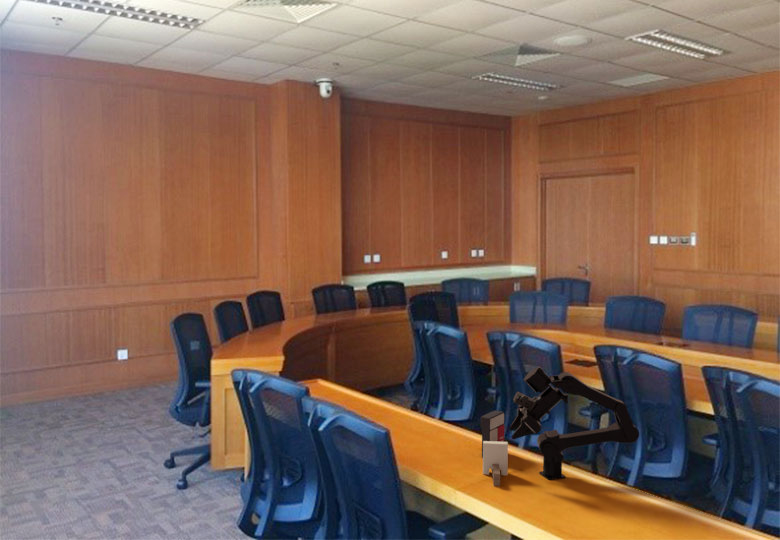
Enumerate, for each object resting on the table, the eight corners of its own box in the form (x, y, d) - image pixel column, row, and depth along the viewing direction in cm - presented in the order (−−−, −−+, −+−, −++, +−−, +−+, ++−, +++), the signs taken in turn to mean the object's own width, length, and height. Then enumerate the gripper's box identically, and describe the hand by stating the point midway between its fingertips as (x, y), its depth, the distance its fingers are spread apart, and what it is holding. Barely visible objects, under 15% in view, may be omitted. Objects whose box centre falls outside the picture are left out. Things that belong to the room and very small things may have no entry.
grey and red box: (490, 460, 234) (491, 418, 233) (480, 458, 237) (480, 416, 236) (505, 452, 243) (505, 411, 242) (494, 449, 245) (495, 410, 245)
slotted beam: (490, 461, 233) (490, 450, 232) (496, 462, 233) (496, 450, 232) (493, 485, 211) (493, 473, 211) (500, 486, 211) (500, 473, 210)
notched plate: (506, 472, 223) (507, 441, 222) (507, 475, 220) (507, 444, 219) (482, 471, 223) (483, 440, 223) (483, 474, 221) (483, 443, 220)
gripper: (525, 378, 228) (492, 408, 230) (531, 391, 210) (495, 424, 211) (548, 401, 228) (515, 432, 230) (556, 416, 209) (520, 449, 211)
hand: (511, 433), depth 220 cm, fingers open, 9 cm apart
